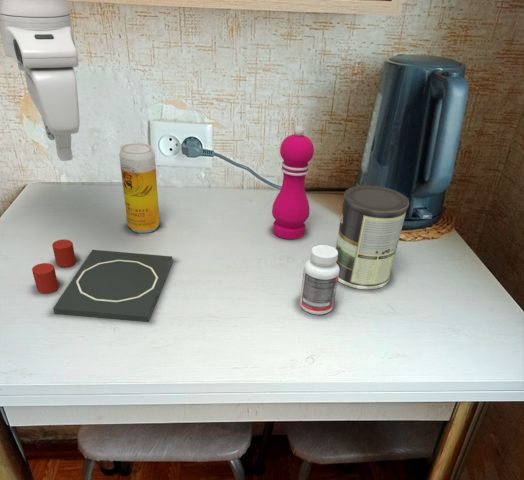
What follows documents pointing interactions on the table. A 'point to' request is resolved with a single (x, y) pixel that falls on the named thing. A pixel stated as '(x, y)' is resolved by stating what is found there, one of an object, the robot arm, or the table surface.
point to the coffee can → (369, 235)
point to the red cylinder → (64, 253)
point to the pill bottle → (320, 280)
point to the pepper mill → (293, 186)
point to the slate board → (115, 286)
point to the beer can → (140, 187)
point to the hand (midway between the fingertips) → (59, 148)
